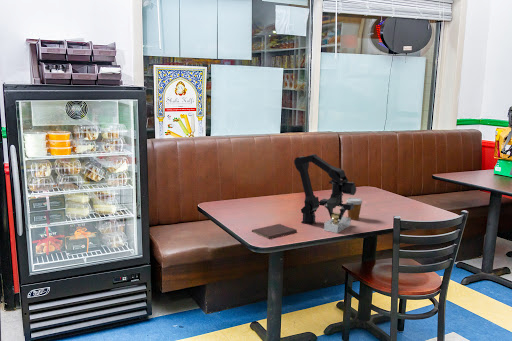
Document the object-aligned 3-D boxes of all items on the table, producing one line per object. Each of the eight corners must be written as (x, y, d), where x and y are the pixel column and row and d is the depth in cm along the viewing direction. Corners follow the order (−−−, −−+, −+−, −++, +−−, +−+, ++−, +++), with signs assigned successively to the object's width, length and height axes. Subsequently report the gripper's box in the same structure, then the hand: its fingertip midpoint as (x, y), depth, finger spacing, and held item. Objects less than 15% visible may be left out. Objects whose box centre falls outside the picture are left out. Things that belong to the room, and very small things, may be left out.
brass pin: (329, 225, 269) (329, 213, 267) (333, 222, 273) (333, 211, 272) (337, 226, 266) (338, 215, 265) (341, 224, 270) (342, 213, 269)
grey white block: (324, 230, 267) (324, 222, 266) (337, 222, 282) (338, 215, 281) (337, 233, 263) (337, 225, 262) (350, 225, 277) (350, 217, 277)
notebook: (251, 232, 263) (251, 229, 262) (279, 226, 275) (279, 222, 274) (269, 239, 251) (269, 236, 251) (296, 233, 263) (297, 229, 263)
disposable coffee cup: (343, 219, 289) (344, 200, 286) (347, 215, 297) (348, 196, 295) (359, 221, 285) (360, 202, 283) (362, 217, 293) (364, 198, 291)
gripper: (315, 192, 264) (314, 219, 267) (347, 197, 254) (345, 225, 257) (324, 188, 273) (323, 215, 276) (355, 193, 263) (353, 220, 266)
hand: (335, 219), depth 269 cm, fingers closed on brass pin, 5 cm apart
